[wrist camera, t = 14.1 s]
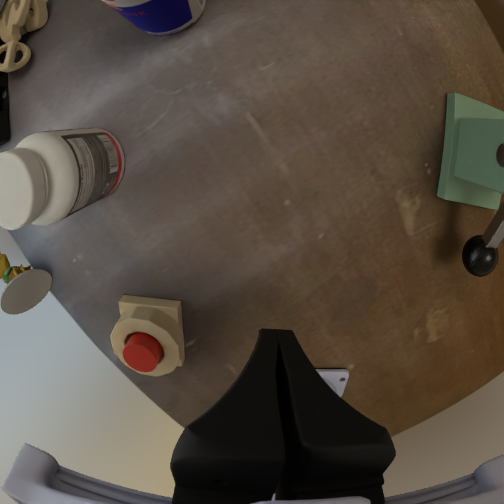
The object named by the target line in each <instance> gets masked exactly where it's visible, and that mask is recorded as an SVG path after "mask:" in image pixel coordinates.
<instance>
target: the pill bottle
mask: <svg viewBox="0 0 504 504" xmlns="http://www.w3.org/2000/svg"><path fill="white" fill-rule="evenodd" d="M124 166H125V159H124V154H123V150H122V147H121V145H120V143H119V142H118V140H117V139H116V138H115V137H114V136H113V135H112V134H111V133H110V132H108V131H106V130H103V129H100V128H82V129H69V130H57V131H43V132H38V133H34V134H31V135H29V136H27V137H26V138H24V139H23V140H22V141H20V142H19V144H18V145H17V146H16V147H15V148H13V149H11V150H7V151H4V152H1V153H0V226H1V227H3V228H5V229H7V230H17V229H19V228H22V227H24V226H26V225H28V224H30V223H31V224H34V225H39V226H45V225H51V224H54V223H56V222H59V221H61V220H62V219H64V218H66V217H68V216H69V215H72V214H73V213H75V212H77V211H79V210H81V209H83V208H85V207H86V206H88V205H90V204H92V203H94V202H96V201H98V200H100V199H102V198H104V197H106V196H108V195H109V194H111V193H112V192H113V191H114V190H115V189H116V187H117V186H118V184H119V183H120V181H121V179H122V176H123V172H124Z"/></svg>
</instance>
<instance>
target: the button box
mask: <svg viewBox="0 0 504 504" xmlns="http://www.w3.org/2000/svg"><path fill="white" fill-rule="evenodd" d="M118 303H119V309H120V315H121V317H120V319H119V320H118V322H117V323H116V325H115V327H114V329H113V331H112V333H111V336H110V338H111V342H112V347H113V351H114V352H115V354H116V355H117V356H118V357H119V359H120V360H121V361H122V362H123V363H124V364H125V365H126V366H128V367H129V368H131V367H130V366H129V365H128V364H127V363H126V362H125V360H124V358H123V349H124V347H125V345H126V344H127V342H128V340H129V338H130V337H131V336H132V335H133V334H135V333H147V334H149V335H151V336H153V337H154V338H156V339H157V340H158V342H159V343H160V345H161V347H162V354H161V357H160V359H159V362H158V364H157V366H156V368H155V369H154V370H153V371H151V372H140V371H137V370H135V369H133V368H131V369H133V370H134V371H136V372H138V373H141V374H145V375H151V376H161V375H164V374H168V373H171V372H173V370H174V369H175V368H176V366H180V367H182V366H183V363H184V360H185V353H184V334H183V325H182V309H181V301H176V300H167V299H157V298H148V297H140V296H131V295H123V296H122V297H121V299H120V300H119V301H118Z"/></svg>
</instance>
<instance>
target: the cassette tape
mask: <svg viewBox="0 0 504 504" xmlns="http://www.w3.org/2000/svg"><path fill="white" fill-rule="evenodd" d="M7 1H8V0H6V2H7ZM6 2H5V3H6ZM4 5H5V4H4ZM3 7H4V6H3ZM2 9H3V8H2ZM1 11H2V10H1ZM1 11H0V13H1ZM4 44H6V43H5V42H4V41H3V40H2V39H1V37H0V46H2V45H4ZM6 53H7V51H3V52H2V53H1V54H0V63H1V64H3V63H4V61H5V58H6ZM1 77H2V78H1ZM4 91H6V93H7V94H6V97H5V98H4V99H3V98H2V93H3V92H4ZM7 111H9V103H8V80H7V72H2V71H0V145H1V144H3V143H5V142H7V141H8V140H9V128H8V117H7Z"/></svg>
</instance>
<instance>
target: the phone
mask: <svg viewBox="0 0 504 504" xmlns="http://www.w3.org/2000/svg"><path fill="white" fill-rule="evenodd" d="M5 2H6V0H0V11H1V10H2V8H3V6H4V4H5Z"/></svg>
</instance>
